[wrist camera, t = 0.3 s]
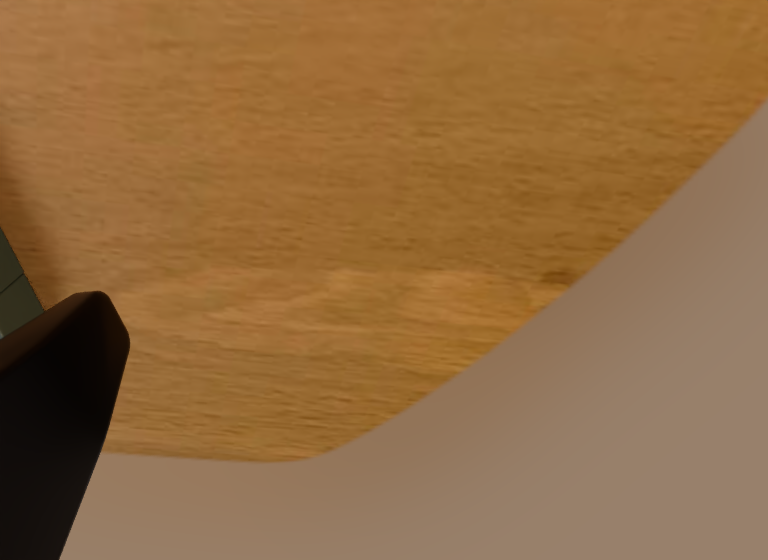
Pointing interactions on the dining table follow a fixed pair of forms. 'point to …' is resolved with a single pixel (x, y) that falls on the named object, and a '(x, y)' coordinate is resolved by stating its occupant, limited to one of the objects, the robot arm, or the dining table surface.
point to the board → (14, 292)
